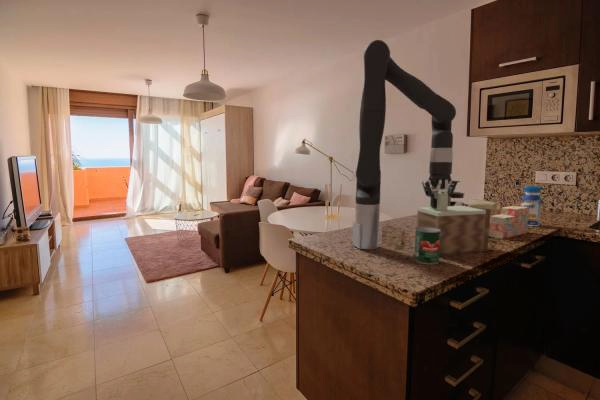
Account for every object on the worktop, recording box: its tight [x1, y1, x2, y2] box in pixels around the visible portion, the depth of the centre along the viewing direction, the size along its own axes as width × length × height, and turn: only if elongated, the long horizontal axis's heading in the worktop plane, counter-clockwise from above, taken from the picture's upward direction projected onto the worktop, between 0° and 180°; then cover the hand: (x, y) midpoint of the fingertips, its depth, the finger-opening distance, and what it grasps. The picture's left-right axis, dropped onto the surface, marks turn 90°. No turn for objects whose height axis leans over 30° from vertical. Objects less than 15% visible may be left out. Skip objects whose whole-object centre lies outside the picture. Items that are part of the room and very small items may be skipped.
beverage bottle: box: [520, 185, 543, 227], centre depth 166 cm, size 8×8×20 cm
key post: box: [466, 205, 492, 252], centre depth 125 cm, size 4×8×16 cm, turn 14°
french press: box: [450, 180, 469, 206], centre depth 164 cm, size 12×9×23 cm
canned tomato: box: [413, 226, 441, 265], centre depth 110 cm, size 8×8×11 cm
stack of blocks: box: [489, 205, 529, 240], centre depth 147 cm, size 21×6×12 cm, turn 122°
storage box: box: [416, 210, 486, 257], centre depth 122 cm, size 20×12×14 cm, turn 104°
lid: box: [417, 192, 486, 216], centre depth 121 cm, size 20×12×9 cm, turn 104°
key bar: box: [468, 198, 501, 211], centre depth 124 cm, size 3×12×2 cm, turn 14°
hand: (438, 207), depth 120 cm, fingers closed on lid, 3 cm apart
